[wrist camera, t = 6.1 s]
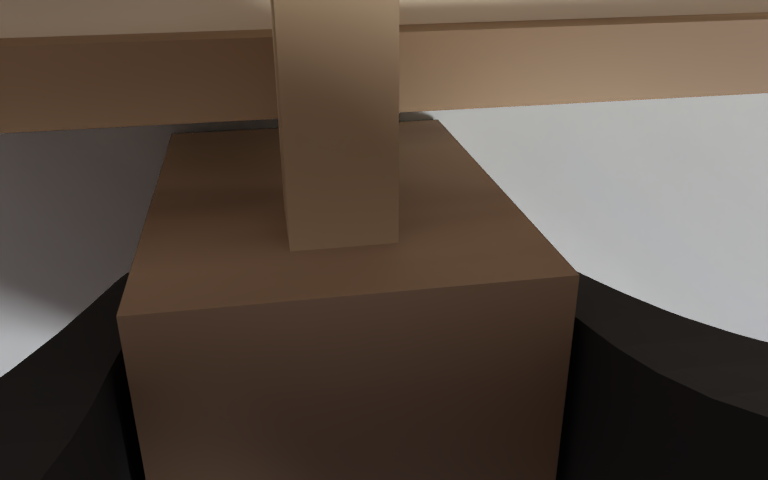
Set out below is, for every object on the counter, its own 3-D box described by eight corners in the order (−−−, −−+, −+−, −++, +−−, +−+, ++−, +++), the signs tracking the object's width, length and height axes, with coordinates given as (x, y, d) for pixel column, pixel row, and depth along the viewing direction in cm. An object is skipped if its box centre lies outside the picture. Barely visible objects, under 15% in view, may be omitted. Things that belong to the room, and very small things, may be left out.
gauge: (432, 340, 15) (541, 591, 9) (201, 363, 14) (177, 650, 9) (446, -196, 11) (646, -295, 5) (128, -201, 10) (0, -320, 5)
